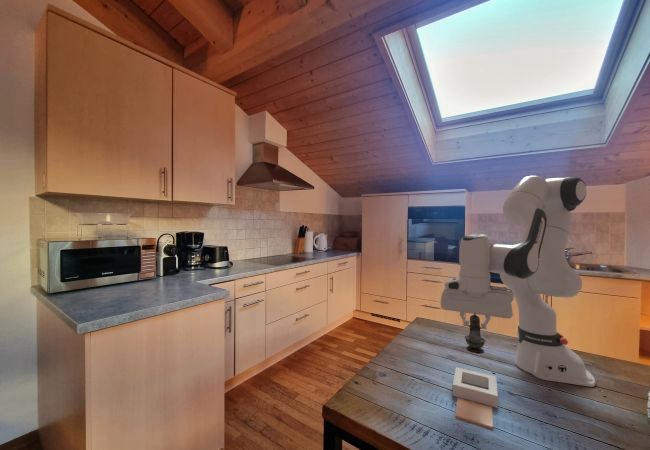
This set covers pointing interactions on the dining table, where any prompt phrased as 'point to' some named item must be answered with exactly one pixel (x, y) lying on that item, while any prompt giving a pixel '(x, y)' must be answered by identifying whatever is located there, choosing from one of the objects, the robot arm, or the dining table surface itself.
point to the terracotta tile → (474, 413)
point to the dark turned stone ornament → (475, 336)
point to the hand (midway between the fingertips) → (474, 327)
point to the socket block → (474, 392)
